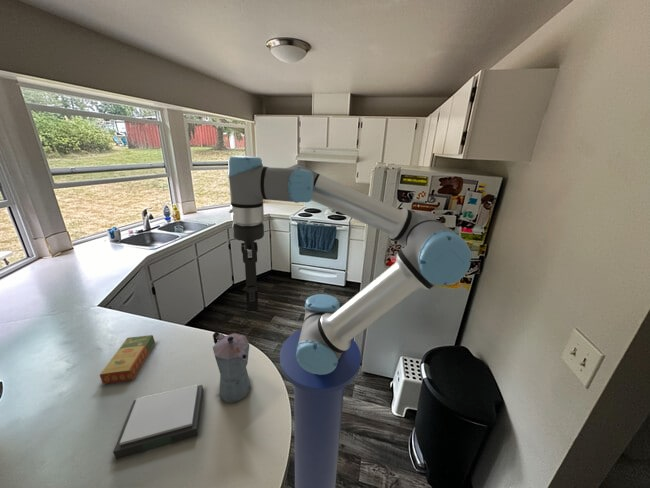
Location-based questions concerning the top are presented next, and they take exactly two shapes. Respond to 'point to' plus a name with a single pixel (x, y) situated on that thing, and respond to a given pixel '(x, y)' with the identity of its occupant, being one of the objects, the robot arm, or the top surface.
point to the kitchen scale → (160, 420)
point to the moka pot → (232, 365)
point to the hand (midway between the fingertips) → (252, 295)
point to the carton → (127, 359)
